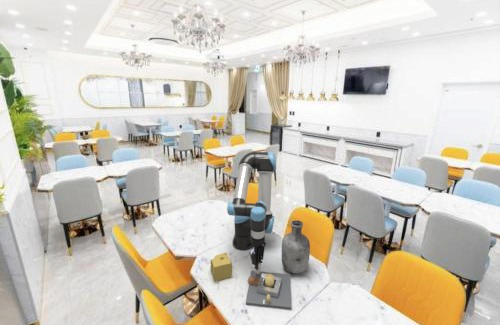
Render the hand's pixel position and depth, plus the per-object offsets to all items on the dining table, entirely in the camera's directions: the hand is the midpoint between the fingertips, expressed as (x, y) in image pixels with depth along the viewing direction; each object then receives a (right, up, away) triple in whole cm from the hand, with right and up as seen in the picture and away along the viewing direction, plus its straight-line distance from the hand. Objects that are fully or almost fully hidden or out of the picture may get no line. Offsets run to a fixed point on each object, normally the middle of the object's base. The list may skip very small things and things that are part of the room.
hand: (257, 272), depth 130 cm
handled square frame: (+3, -3, -7) cm, 8 cm away
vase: (+22, -1, +8) cm, 24 cm away
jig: (+6, -5, -7) cm, 11 cm away
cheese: (-21, -3, +4) cm, 21 cm away
